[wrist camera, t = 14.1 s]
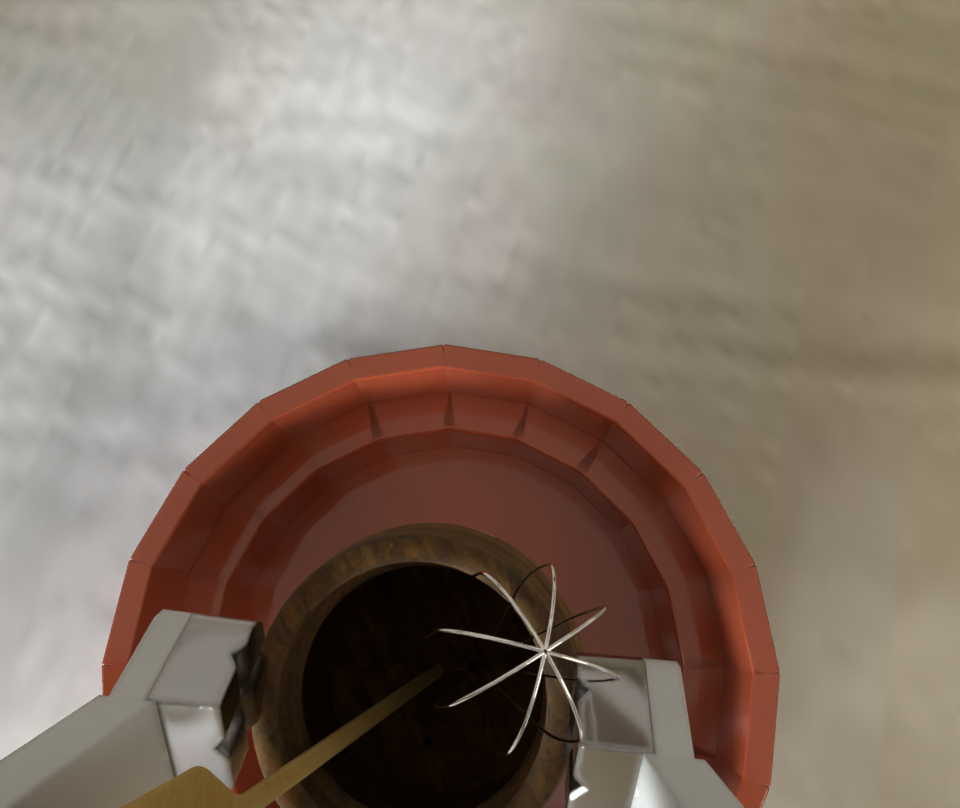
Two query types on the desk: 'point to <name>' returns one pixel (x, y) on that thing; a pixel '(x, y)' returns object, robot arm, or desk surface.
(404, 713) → the utensil holder
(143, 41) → the desk surface
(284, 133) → the desk surface
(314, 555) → the bowl
